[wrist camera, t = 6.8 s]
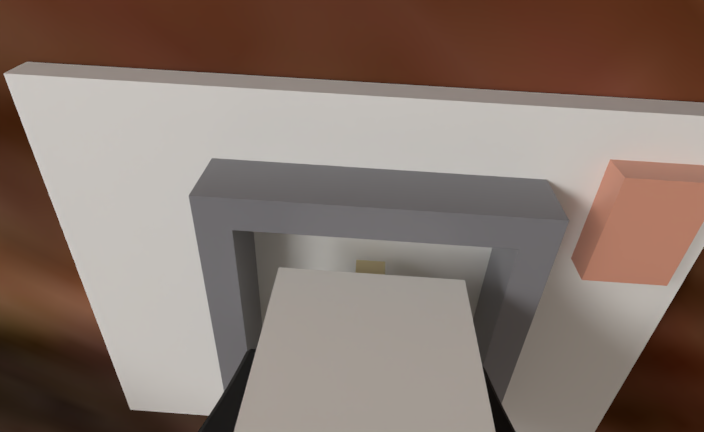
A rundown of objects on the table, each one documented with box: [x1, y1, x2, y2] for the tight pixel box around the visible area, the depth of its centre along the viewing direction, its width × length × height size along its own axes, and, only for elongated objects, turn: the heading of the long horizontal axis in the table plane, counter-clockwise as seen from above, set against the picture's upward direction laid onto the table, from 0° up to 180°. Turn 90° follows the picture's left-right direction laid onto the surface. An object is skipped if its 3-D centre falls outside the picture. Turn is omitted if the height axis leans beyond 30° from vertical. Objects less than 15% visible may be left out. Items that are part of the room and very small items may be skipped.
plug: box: [234, 260, 496, 432], centre depth 11 cm, size 4×5×5 cm
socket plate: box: [3, 62, 704, 432], centre depth 13 cm, size 16×12×2 cm
